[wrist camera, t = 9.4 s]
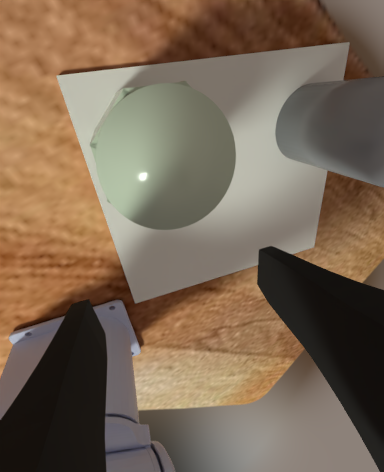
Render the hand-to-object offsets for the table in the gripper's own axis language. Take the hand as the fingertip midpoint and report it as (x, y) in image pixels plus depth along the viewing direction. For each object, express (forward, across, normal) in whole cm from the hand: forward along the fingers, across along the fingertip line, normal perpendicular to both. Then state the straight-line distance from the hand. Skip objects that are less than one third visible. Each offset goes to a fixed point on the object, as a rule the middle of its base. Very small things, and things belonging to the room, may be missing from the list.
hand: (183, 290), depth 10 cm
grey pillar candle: (+10, -14, -4) cm, 17 cm away
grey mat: (+10, -7, 0) cm, 12 cm away
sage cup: (+10, -1, -4) cm, 11 cm away
